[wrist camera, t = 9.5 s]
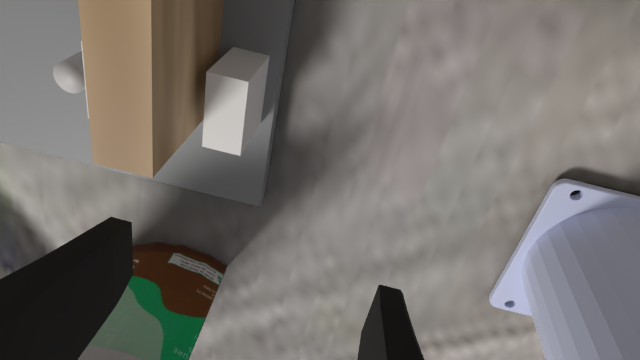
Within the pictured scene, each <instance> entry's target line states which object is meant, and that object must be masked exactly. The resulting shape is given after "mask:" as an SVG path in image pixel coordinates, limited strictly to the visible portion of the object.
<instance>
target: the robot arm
mask: <svg viewBox="0 0 640 360" xmlns="http://www.w3.org/2000/svg"><path fill="white" fill-rule="evenodd" d="M575 190H580V192H579V193H578V194H576V195H570V194H571V193H572V192H573V191H575ZM133 274H134V270H133V246H132V223H131V222H129V221H125V220H121V219H117V218H113V217H110V218H108V219H107V220H105V221H103V222H101V223H100V224H98V225H96V226H95V227H93V228H91V229H89V230H88V231H86V232H84V233H83V234H81V235H79V236H78V237H76V238H74V239H73V240H71V241H69V242H68V243H66V244H64V245H63V246H61V247H59V248H57V249H56V250H54V251H52V252H50V253H49V254H47V255H45V256H43V257H42V258H40V259H38V260H36V261H34V262H32V263H30V264H29V265H27V266H25V267H23V268H21V269H19V270H17V271H15V272H13V273H11V274H9V275H8V276H6V277H4V278H2V279H0V360H78V358H79V357H80V356H81V354H82V353H83V351H84V350H85V349H86V347H87V346H88V345H89V343H90V342H91V340H92V339H93V338H94V336H95V335H96V333H97V332H98V331H99V329H100V328H101V327H102V325H103V324H104V322H105V321H106V319H107V318H108V317H109V315H110V314H111V312H112V311H113V310H114V308H115V307H116V305H117V304H118V302H119V300H120V298H121V296H122V295H123V293H124V291H125V289H126V287H127V285H128V283H129V281H130V280H131V278H132V276H133ZM489 299H490V303H491V305H492V306H494V307H496V308H500V309H504V310H508V311H512V312H516V313H520V314H524V315H528V316H532V317H533V321H534V324H535V327H536V331H537V334H538V337H539V341H540V344H541V347H542V350H543V354H544V357H545V360H640V196H636V195H632V194H628V193H624V192H620V191H616V190H611V189H607V188H603V187H599V186H595V185H591V184H587V183H583V182H579V181H575V180H570V179H560V180H557V181H556V182H554V183H553V184H552V186H551V187H550V189H549V191H548V193H547V194H546V196H545V198H544V200H543V201H542V203H541V205H540V207H539V208H538V210H537V212H536V214H535V216H534V217H533V219H532V221H531V223H530V224H529V226H528V228H527V230H526V231H525V233H524V235H523V237H522V238H521V240H520V242H519V244H518V246H517V247H516V249H515V251H514V253H513V254H512V256H511V258H510V260H509V261H508V263H507V265H506V267H505V268H504V270H503V272H502V274H501V275H500V277H499V279H498V281H497V283H496V284H495V286H494V288H493V290H492V291H491V293H490V295H489ZM509 300H510V301H511V302H506V301H509ZM358 360H424V358H423V355H422V352H421V350H420V347H419V344H418V342H417V339H416V336H415V333H414V330H413V327H412V324H411V321H410V318H409V314H408V311H407V308H406V304H405V300H404V296H403V293H402V292H401V290H399V289H395V288H391V287H387V286H383V285H379V286H378V289H377V292H376V294H375V297H374V300H373V302H372V305H371V308H370V310H369V313H368V316H367V318H366V321H365V324H364V327H363V329H362V332H361V339H360V346H359V353H358Z"/></svg>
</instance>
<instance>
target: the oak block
mask: <svg viewBox="0 0 640 360" xmlns="http://www.w3.org/2000/svg"><path fill="white" fill-rule="evenodd" d="M78 5H79V16H80V27H81V37H82V48H83V59H84V70H85V81H86V92H87V102H88V113H89V124H90V135H91V146H92V157H93V163H94V164H98V165H102V166H106V167H110V168H114V169H118V170H122V171H126V172H131V173H135V174H139V175H143V176H147V177H151V178H153V177H154V176H155V175H156V174H157V173H158V171H159V170H160V169H161V168H162V167H163V166H164V164H165V163H166V162H167V161H168V160H169V159H170V158H171V156H172V155H173V154H174V153H175V152H176V151H177V149H178V148H179V147H180V146H181V145H182V144H183V143H184V141H185V140H186V139H187V138H188V137H189V136H190V135H191V133H192V132H193V131H194V130H195V129H196V128H197V126H198V125H199V124H200V123H201V122H202V121H203V120H204V104H205V87H206V72H207V71H208V70H209V69H210V68H211V67H212V66H213V65H214V64H215V63H216V62H217V61H219V55H220V41H221V28H222V14H223V0H78Z"/></svg>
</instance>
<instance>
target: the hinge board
mask: <svg viewBox="0 0 640 360" xmlns="http://www.w3.org/2000/svg"><path fill="white" fill-rule="evenodd" d="M294 4H295V0H223V14H222V28H221V41H220V55H219V61H217V62H216V63H215V64H214V65H213V66H212V67H211V68H210V69H209V70H208V71H207V72H206V87H205V104H204V120H203V121H202V122H201V123H200V124H199V125H198V126H197V128H196V129H195V130H194V131H193V132H192V133H191V135H190V136H189V137H188V138H187V139H186V140H185V141H184V143H183V144H182V145H181V146H180V147H179V148H178V149H177V151H176V152H175V153H174V154H173V155H172V156H171V158H170V159H169V160H168V161H167V162H166V163H165V164H164V166H163V167H162V168H161V169H160V170H159V171H158V173H157V174H156V175H155V176H154V177H153V178H151V177H147V176H143V175H139V174H135V173H131V172H126V171H122V170H118V169H114V168H110V167H106V166H102V165H98V164H94V163H93V157H92V146H91V135H90V124H89V113H88V102H87V92H86V81H85V70H84V59H83V48H82V37H81V27H80V16H79V5H78V0H0V143H4V144H8V145H12V146H16V147H20V148H24V149H28V150H33V151H37V152H41V153H45V154H49V155H53V156H57V157H61V158H65V159H69V160H73V161H77V162H81V163H85V164H89V165H93V166H97V167H101V168H105V169H109V170H113V171H117V172H121V173H125V174H129V175H133V176H137V177H141V178H145V179H149V180H153V181H157V182H161V183H165V184H169V185H173V186H177V187H181V188H185V189H189V190H193V191H197V192H201V193H205V194H209V195H213V196H217V197H221V198H225V199H229V200H233V201H237V202H241V203H245V204H249V205H253V206H257V207H260V205H261V203H262V201H263V198H264V196H265V191H266V184H267V178H268V171H269V165H270V159H271V152H272V146H273V139H274V133H275V126H276V120H277V113H278V107H279V101H280V94H281V88H282V81H283V75H284V68H285V62H286V55H287V49H288V43H289V36H290V30H291V23H292V17H293V10H294Z"/></svg>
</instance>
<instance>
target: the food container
mask: <svg viewBox="0 0 640 360" xmlns="http://www.w3.org/2000/svg"><path fill="white" fill-rule="evenodd" d="M226 268H227V266H226V265H225V264H223V263H222V262H220V261H218V260H217V259H215V258H214V257H212V256H210V255H208V254H205V253H203V252H200V251H197V250H195V249H192V248H189V247H187V246H184V245H176V244H169V243H161V242H156V243H149V244H141V245H136V246H134V247H133V270H134V274H133V276H132V278H131V280H130V281H129V283H128V285H127V287H126V289H125V291H124V293H123V295H122V296H121V298H120V300H119V302H118V304H117V305H116V307H115V308H114V310H113V311H112V312H111V314H110V315H109V317H108V318H107V319H106V321H105V322H104V324H103V325H102V327H101V328H100V329H99V331H98V332H97V333H96V335H95V336H94V338H93V339H92V340H91V342H90V343H89V345H88V346H87V347H86V349H85V350H84V351H83V353H82V354H81V356H80V357H79V358H78V360H189V358H190V355H191V353H192V350H193V348H194V346H195V343H196V341H197V338H198V336H199V334H200V331H201V329H202V326H203V324H204V321H205V319H206V317H207V314H208V312H209V309H210V307H211V304H212V302H213V300H214V297H215V295H216V292H217V290H218V287H219V285H220V283H221V280H222V278H223V275H224V273H225V271H226Z"/></svg>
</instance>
